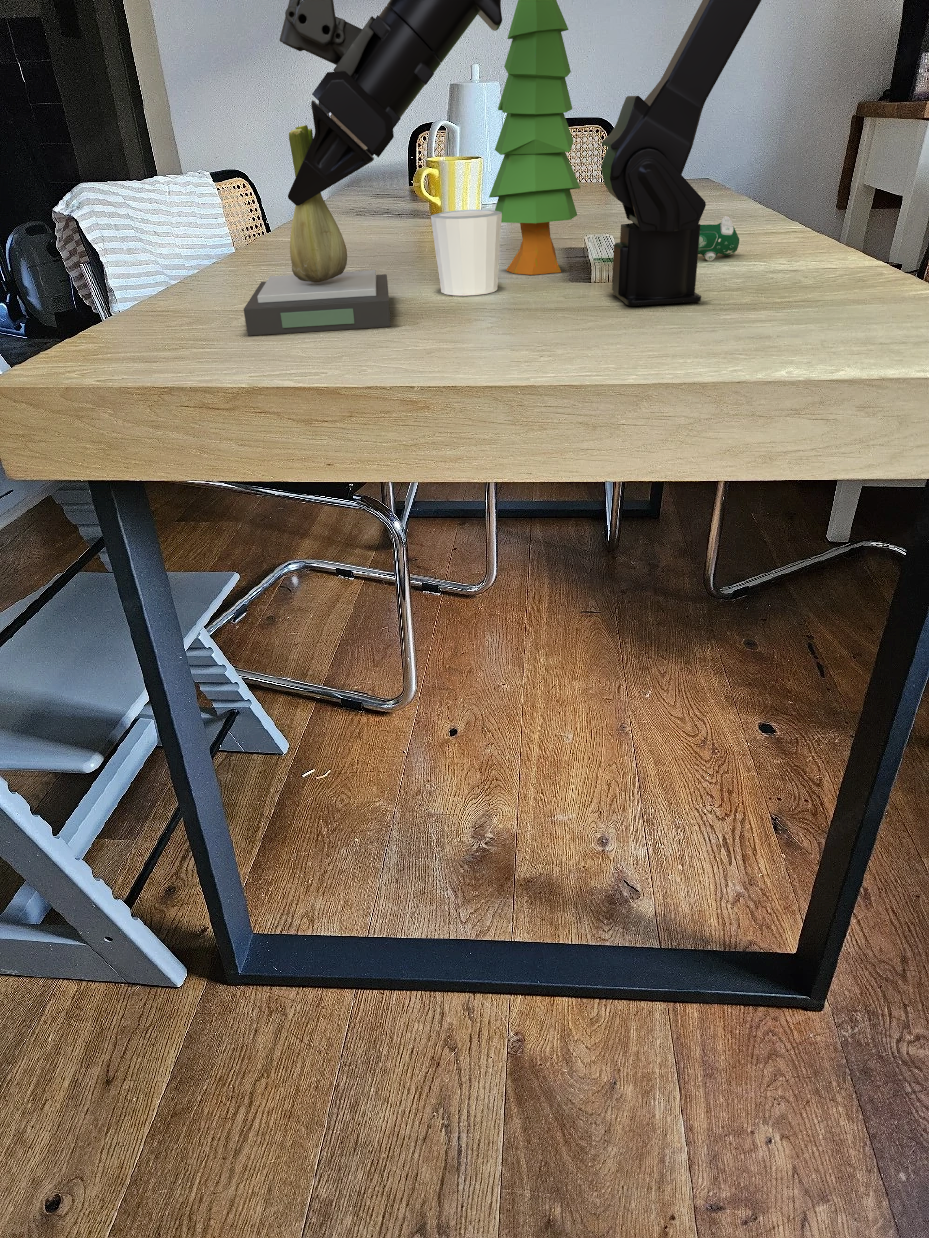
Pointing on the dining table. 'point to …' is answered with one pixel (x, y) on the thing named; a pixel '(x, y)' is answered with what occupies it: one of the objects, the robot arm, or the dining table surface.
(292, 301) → the kitchen scale
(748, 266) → the dining table surface
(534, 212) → the decorative tree
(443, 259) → the white cup
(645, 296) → the robot arm
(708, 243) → the green toy car
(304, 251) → the fennel bulb
